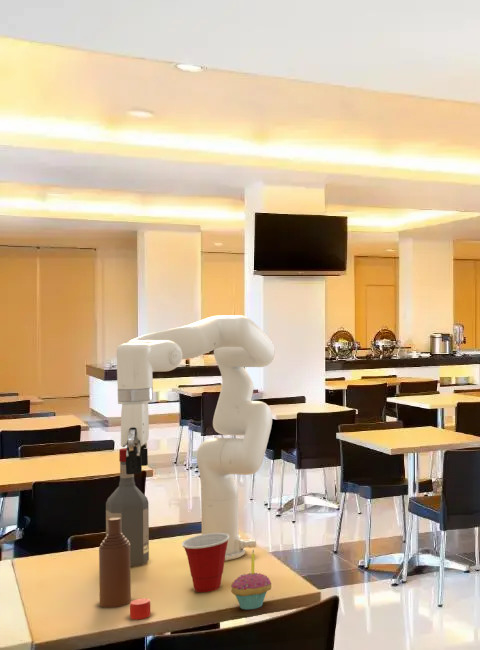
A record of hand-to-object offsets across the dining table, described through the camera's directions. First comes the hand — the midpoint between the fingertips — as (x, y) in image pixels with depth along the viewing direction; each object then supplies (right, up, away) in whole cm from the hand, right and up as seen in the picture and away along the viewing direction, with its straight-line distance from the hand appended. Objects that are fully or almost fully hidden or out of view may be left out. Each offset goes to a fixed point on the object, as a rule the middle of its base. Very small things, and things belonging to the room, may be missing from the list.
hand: (137, 469), depth 202 cm
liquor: (-14, -30, +26) cm, 41 cm away
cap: (+7, -29, -15) cm, 33 cm away
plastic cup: (+15, -29, +4) cm, 33 cm away
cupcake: (+29, -29, -9) cm, 42 cm away
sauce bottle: (-3, -29, -6) cm, 30 cm away
